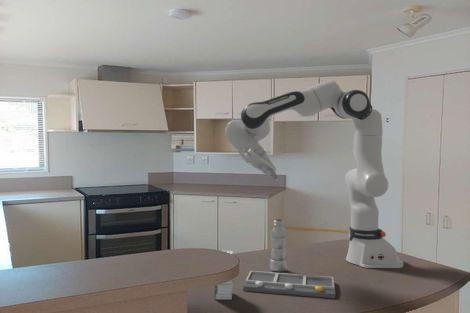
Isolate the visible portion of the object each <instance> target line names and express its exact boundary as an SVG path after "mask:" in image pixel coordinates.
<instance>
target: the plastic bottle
mask: <svg viewBox="0 0 470 313" xmlns="http://www.w3.org/2000/svg"><path fill="white" fill-rule="evenodd" d="M284 225H285V223H284V219H281V218H277V219H273V227H272V229H271V230H270V233H269V234H270V246H271V248H270V250H271V253H270V260H269V269H270V271H271V272H274V273H283V272H285V271H286V270H287V266H288V263H287V262H288V261H287V254H286V250H287V249H286V247H287V246H286V245H287V239H288V232H287V229H286V228H285V227H284Z"/></svg>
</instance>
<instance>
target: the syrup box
mask: <svg viewBox="0 0 470 313" xmlns="http://www.w3.org/2000/svg"><path fill="white" fill-rule="evenodd" d="M222 251H223V252H227V253H230V254H233V255H234V251H232V250H222ZM233 289H234V279H233V280H231V281H229V282H226V283H223V284H221V285H218V286H215V285H214V297H213V298H214V300H217V301H218V300H219V301H220V300H224V301H226V300H232V299H233V292H234V291H233Z"/></svg>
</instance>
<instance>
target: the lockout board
mask: <svg viewBox="0 0 470 313" xmlns="http://www.w3.org/2000/svg"><path fill="white" fill-rule="evenodd" d="M242 291H243V292H256V293H267V294H268V293H269V294H276V295H277V294H280V295H288V294H289V295H290V296H299V295H300V297H302V296H303V297H314V298H325V299H326V298H327V299H336V288H335V279H334V276H323V275H315V274H314V275H312V274H311V275H310V274H300V273H286V272H275V271H261V270H260V271H257V270H250V271H249V273H248V275H247V277H246V279H245V281H244V283H243V288H242Z"/></svg>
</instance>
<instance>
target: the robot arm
mask: <svg viewBox="0 0 470 313" xmlns="http://www.w3.org/2000/svg"><path fill="white" fill-rule="evenodd" d="M327 109H330V110H332V111H333V113H334V115H336V116H337V117H338V118H341V119H351V120H352V121H353V124H354V134H353V136H354V137H353V152H352V155H353V156H354V160H355V164H356V168H352V169H349V170H348V171H347V172H346V173H345V175H344V176H345V177H344V183H345V185H346V188H347V195H348V199H349V206H350V226H349V228H348V238H349V244H348V249H347V254H346V257H345V261H347V262H348V263H350V264H354V265H356V266H360V267H362V268H365V269H402V268H404V261H403V259H401V258H399V257H398V254H397V250H396V248H395V246H394V245H392V244H391V243H390V242H389V241H387V240H386V239H385V237H386V236H387V235H386V232H385V231H383V230H382V229H381V228H379V209H378V206H377V203H376V200H375V198H378V197H381V196H384V195H385V194H386V192H387V191H388V188H389V181H388V178H387V177H386V174H385V170H384V165H383V159H382V157H383V156H382V149H383V148H382V145H383V120H382V114H381V112H380V111H379V110H377V109H373V106H372V103H371V101H370V98H369V96H368V95H367V93H366V92H365V91H363V90H359V89H351V90H348V91H343V90H342V89H341V87H340V85H339V84H338V83H337V82H336V81H334V80H326V81H323V82H319V83H317V84H313V85H312V86H309V87H307V88H305V89H302V90H299V91H296V90H295V91H290V92H287V93H284V94H281V95H278V96H275V97H272V98H270V99H267V100H264V101H259V102H257V101H256V102H255V101H254V102H251V103H247V105H245V106H244V107H243V109H241V112H240V118H241V119H232V120H230V121H229V122H228V123H227V124H226V126H225V129H224V134H225V137H226V139H227V140H228V141H229V143H230V144H231V146H232V147H233V148H234V149H236V150H237V152H238V154H239V156H241V158H242V159H243V160H244V161H245V163H247V164H250V165H252V167H253V168H255V169H257V170H259V171H261V172H262V173H263V174H264V175H265V176H266V177H269V178H270V176H271V177H272V179H273V180H275V181H278V180H279V179H280V178H279V176H278V175H277V173H276V171H277V168H276V166H275V165H274V163H273V162H272V160H271V159H270V158H269V157H268V156H267V155H268V153H267V152H266V151H265V150H264V148H263V146H262V145H261V144H260V143H259V141H261V140H262V139H264V138H266V137H267V136H268V135H269V133H270V130H271V127H270V122H269V118H271V117H272V116H275V115H277V114H280V113H282V112H285V111H288V110H291V111H292V110H293V111H295V112H296V113H297V114H298V115H300V116H302V117H311V116H314V115H316V114H318V113H320V112H323V111H324V110H327Z"/></svg>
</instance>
